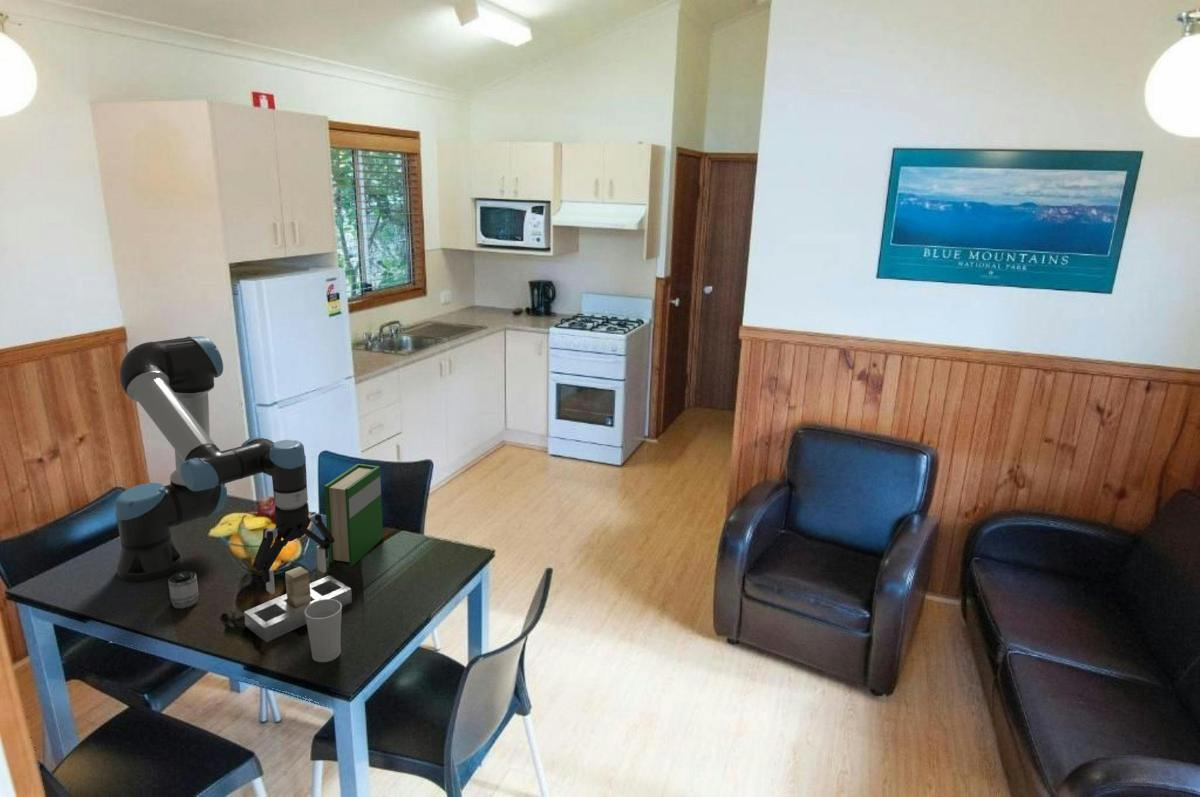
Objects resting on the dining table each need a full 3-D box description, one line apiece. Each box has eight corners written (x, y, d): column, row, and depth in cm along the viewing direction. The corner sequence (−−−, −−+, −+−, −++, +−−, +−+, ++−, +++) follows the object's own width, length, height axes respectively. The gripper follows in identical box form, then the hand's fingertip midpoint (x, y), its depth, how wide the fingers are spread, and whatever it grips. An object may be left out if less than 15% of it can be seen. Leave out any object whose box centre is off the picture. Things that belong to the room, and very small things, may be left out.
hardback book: (352, 566, 202) (348, 489, 195) (329, 562, 203) (324, 485, 196) (382, 538, 218) (379, 466, 211) (361, 534, 219) (357, 463, 213)
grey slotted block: (245, 625, 172) (243, 611, 171) (330, 588, 190) (329, 575, 189) (266, 642, 167) (264, 628, 165) (351, 602, 184) (351, 588, 183)
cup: (332, 638, 169) (330, 595, 166) (351, 653, 164) (348, 608, 161) (301, 653, 163) (297, 608, 160) (319, 669, 158) (316, 623, 155)
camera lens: (180, 612, 176) (176, 584, 174) (166, 603, 180) (162, 576, 177) (204, 600, 182) (201, 573, 179) (190, 592, 185) (187, 566, 182)
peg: (288, 614, 178) (284, 572, 174) (303, 607, 181) (300, 566, 178) (297, 620, 176) (293, 577, 172) (311, 613, 179) (308, 571, 175)
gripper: (247, 525, 158) (255, 607, 164) (346, 492, 177) (349, 567, 183) (231, 515, 162) (239, 595, 168) (329, 484, 181) (333, 557, 187)
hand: (297, 581), depth 176 cm, fingers open, 13 cm apart
